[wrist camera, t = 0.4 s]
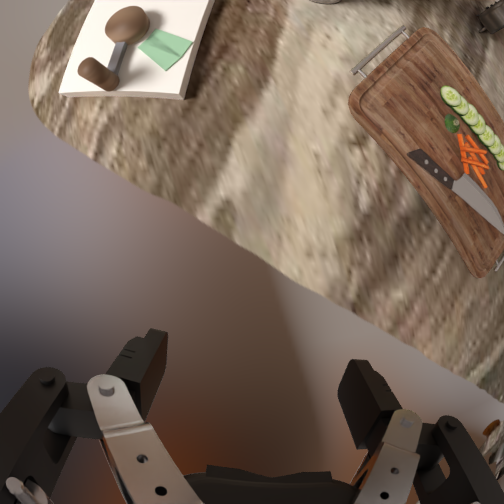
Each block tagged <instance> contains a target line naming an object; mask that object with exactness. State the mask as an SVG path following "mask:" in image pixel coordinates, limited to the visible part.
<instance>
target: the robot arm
mask: <svg viewBox="0 0 504 504" xmlns="http://www.w3.org/2000/svg"><path fill="white" fill-rule="evenodd" d="M311 1H314V2H317V3H324V4H331V3H337V2H339V1H341V0H311ZM167 344H168V332H165V331H161V330H156V329H152V328H151V329H150V330H149V331H148V333H147V334H146V336H145V338H141V337H135V338H133V339H131V340H130V341H128V342H127V344H126V345H125V346H124V348H123V350H122V351H121V352H120V354H119V356H117V358H116V359H115V361H114V362H113V364H112V365H111V367H110V368H109V370H108V371H107V373H106V374H105V375H98V376H95V377H93V378H92V379H91V380H90V381H89V382H88V383H87V384H84V383H74V382H66V378H65V375H64V374H63V373H62V372H61V371H60V370H58V369H55V368H51V367H45V368H40V369H38V370H36V371H35V372H33V374H32V375H31V376H30V377H29V378H28V379H27V381H26V382H25V383H24V384H23V386H22V387H21V388H20V390H18V392H17V393H16V394H15V395H14V397H13V398H12V399H11V401H10V402H9V403H8V405H7V406H6V407H5V408H4V410H3V411H2V412H1V413H0V504H53V502H52V501H51V500H50V497H51V495H52V492H53V490H54V488H55V485H56V483H57V480H58V478H59V476H60V474H61V471H62V469H63V467H64V465H65V462H66V460H67V458H68V456H69V454H70V452H71V450H72V447H73V445H74V443H75V441H76V439H77V437H83V438H92V439H99V441H100V443H101V446H102V448H103V451H104V453H105V456H106V458H107V461H108V463H109V465H110V468H111V470H112V472H113V475H114V477H115V479H116V482H117V484H118V486H119V489H120V491H121V493H122V495H123V497H124V499H125V501H126V503H127V504H405V503H406V500H407V498H408V494H409V492H410V489H411V486H412V483H413V485H414V487H415V490H416V493H417V495H418V498H419V501H420V504H504V492H503V491H502V489H501V487H500V485H499V483H498V481H497V480H496V478H495V476H494V475H493V473H492V471H491V469H490V468H489V466H488V464H487V463H486V461H485V459H484V458H483V456H482V454H481V453H480V451H479V450H478V448H477V446H476V445H475V443H474V442H473V440H472V439H471V437H470V435H469V434H468V432H467V431H466V429H465V428H464V426H463V425H462V423H461V422H460V421H459V420H458V419H456V418H454V417H452V416H442V417H440V418H439V420H438V421H437V423H436V424H428V423H422V420H421V418H420V417H419V416H418V415H417V414H416V413H414V412H412V411H410V410H406V409H402V407H401V405H400V404H399V402H398V400H397V399H396V397H395V395H394V394H393V392H391V389H390V387H389V386H388V384H387V382H386V381H385V379H384V377H383V376H381V375H380V374H379V373H378V372H376V371H374V370H373V368H372V366H371V365H370V363H369V362H368V361H367V360H357V359H352V360H350V361H349V363H348V365H347V368H346V370H345V373H344V375H343V377H342V380H341V382H340V384H339V388H338V399H339V402H340V405H341V407H342V410H343V413H344V415H345V418H346V421H347V424H348V426H349V429H350V432H351V435H352V438H353V440H354V443H355V446H356V449H368V453H367V454H366V455H365V457H364V459H363V461H362V463H361V465H360V466H359V468H358V470H357V472H356V474H355V475H354V477H353V479H352V481H351V482H350V484H347V483H345V482H341V481H338V480H334V479H332V476H331V472H330V471H329V472H301V473H296V474H291V475H286V476H280V477H273V478H271V477H266V476H262V475H258V474H255V473H251V472H248V471H244V470H241V469H235V468H227V467H219V466H212V465H207V469H206V472H205V473H194V474H188V475H184V476H183V475H182V474H181V472H180V471H179V469H178V468H177V466H176V465H175V463H174V462H173V460H172V459H171V457H170V456H169V454H168V452H167V451H166V449H165V447H164V446H163V444H162V443H161V441H160V440H159V438H158V436H157V434H156V432H155V431H154V429H153V427H152V426H151V424H150V423H148V422H147V423H145V420H146V418H147V415H148V413H149V410H150V408H151V405H152V403H153V400H154V398H155V395H156V393H157V390H158V388H159V386H160V383H161V381H162V378H163V376H164V373H165V369H166V363H167ZM443 457H445V459H446V461H447V463H448V465H449V467H450V475H449V477H448V478H447V479H446V478H445V476H444V474H443V472H442V470H441V468H440V466H439V464H438V463H439V462H440V461H441V460H442V458H443Z"/></svg>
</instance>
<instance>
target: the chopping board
mask: <svg viewBox="0 0 504 504" xmlns="http://www.w3.org/2000/svg"><path fill="white" fill-rule="evenodd" d="M405 29H406V27H405V26H404V25H402V26H401V27H399V28H398V29H397V30H396V31H395V32H393V33H392V34H391V35H390V36H389V37H388V38H386V39H385V40H384V41H383V42H382V43H381V44H379V45H378V46H377V47H376V48H375V49H374V50H373V51H371V52H370V53H369V54H368V55H367V56H366V57H365V58H364V59H362V60H361V61H360V62H359V63H358V64H357V65H356V66H355V67H354V68H352V69H351V70H350V73H351V74H352V75H354V74H355V73H356V72H357V71H358V72H359V73H360V74H361V75H362V76H363V77H364V78H365V79H364V80H363V81H362V82H361V83H360V84H359V85H358V86H357V87H356V88H355V89H354V90H353V91H352V92H351V94H350V96H349V102H348V105H349V109H350V112H351V114H352V115H353V117H354V118H355V120H356V121H357V122H358V123H359V124H360V125H361V126H362V127H363V128H364V129H365V130H366V131H367V132H368V133H369V135H370V136H371V137H372V138H373V139H374V140H375V141H376V142H377V143H378V144H379V145H380V147H381V148H382V149H383V150H384V151H385V152H386V153H387V155H388V156H389V157H390V158H391V159H392V160H393V162H394V163H395V164H396V165H397V166H398V168H399V169H400V170H401V171H402V172H403V174H404V175H405V176H406V177H407V179H408V180H409V181H410V182H411V184H412V185H413V186H414V188H415V189H416V190H417V192H418V193H419V194H420V196H421V197H422V198H423V200H424V201H425V202H426V204H427V205H428V206H429V208H430V209H431V211H432V212H433V214H434V215H435V216H436V218H437V219H438V221H439V222H440V224H441V225H442V227H443V228H444V230H445V231H446V233H447V234H448V236H449V237H450V239H451V241H452V242H453V244H454V245H455V247H456V249H457V250H458V252H459V254H460V255H461V257H462V259H463V260H464V262H465V264H466V266H467V267H468V269H469V271H470V273H471V274H472V275H473V276H474V277H476V278H482V277H484V276H485V275H486V274H487V273H488V272H489V271H490V269H491V268H492V266H493V265H494V263H495V262H496V264H497V266H496V267H495V269H494V270H495V272H497V270H498V269H499V267H500V266H501V264H502V263H503V261H504V255H503V256H502V258H501V260H500V261H499V263H498V261H497V259H498V257H499V256H500V254H501V253H502V251H503V249H504V122H503V120H502V119H501V117H500V115H499V114H498V112H497V110H496V109H495V107H494V106H493V104H492V102H491V101H490V99H489V98H488V96H487V95H486V93H485V92H484V90H483V89H482V88H481V86H480V85H479V83H478V82H477V80H476V79H475V78H474V76H473V75H472V74H471V72H470V71H469V70H468V68H467V67H466V66H465V65H464V63H463V62H462V61H461V60H460V58H459V57H458V56H457V55H456V54H455V52H454V51H453V50H452V49H451V48H450V47H449V45H448V44H447V43H446V42H445V41H444V40H443V39H442V38H441V37H440V36H439V35H438V34H437V33H436V32H435V31H433V30H431V29H429V28H424V27H423V28H420V29H418V30H417V31H416V32H415V33H414V34H412V35H411V36H410V37H409V36H408V35H407V34H406V33H405V32H404V31H403V30H405ZM400 33H402V34H403V35H404V36H405V37H407V38H408V39H407V40H406V41H405V42H404V43H402V44H401V45H400V46H399V47H398V48H397V49H396V50H395V51H394V52H393V53H392V54H390V55H389V56H388V57H387V58H386V59H385V60H384V61H383V62H382V63H381V64H380V65H379V66H378V67H377V68H375V69H374V70H373V71H372V72H371V73H370V74H369V75H368V76H367V75H365V74H364V73H363V72H362V71H361V70H360V69H361V68H362V67H363V66H364V65H365V64H366V63H367V62H368V61H369V60H371V59H372V58H373V57H374V56H375V55H376V54H377V53H378V52H379V51H381V50H382V49H383V48H384V47H385V46H386V45H387V44H388V43H390V42H391V41H392V40H393V39H394V38H395V37H396V36H398V35H399V34H400Z"/></svg>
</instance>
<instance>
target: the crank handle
mask: <svg viewBox="0 0 504 504" xmlns="http://www.w3.org/2000/svg"><path fill="white" fill-rule="evenodd" d="M149 27H150V20H149V18H148V16H147V15H146V13H145V12H144V10H143V9H142V8H141V7H138V6H128V7H125V8H122V9H120V10H119V11H117V12H116V13H114V14H113V15H112V16H111V17H110V19H109V20H108V21H107V23H106V26H105V34H106V35H107V37H108V38H110V39H111V40H112V41H113V42H114V43H115V47H114V50H113V52H112V55H111V58H110V61H109V64H108V67H105V66H104V65H103V64H101V63H100V62H99V61H97V60H96V59H95V58H93V57H88V58H86V59H84V60H83V61H82V62H81V63H80V65H79V66H78V70H77V72H78V75H79V76H81V77H83V78H84V79H86V80H88V81H90V82H91V83H93V84H95V85H97V86H98V87H100V88H102V89H103V90H105V91H108V92H110V91H113V90H114V89H116V88H117V86H118V85H119V82H120V79H119V77H118V73H119V70H120V67H121V64H122V61H123V58H124V55H125V52H126V49H127V46H128V45H131V44H133V43H135V42H137V41H139V40H140V39H141V38H142V37H143V36H144V35H145V34H146V33H147V31H148V29H149Z"/></svg>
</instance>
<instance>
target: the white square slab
mask: <svg viewBox="0 0 504 504" xmlns="http://www.w3.org/2000/svg"><path fill="white" fill-rule="evenodd" d="M214 1H215V0H95V2H94V4H93V6H92V8H91V10H90V12H89V14H88V16H87V18H86V20H85V22H84V25H83V27H82V29H81V32H80V34H79V36H78V39H77V41H76V44H75V46H74V49H73V51H72V54H71V57H70V59H69V62H68V65H67V68H66V71H65V74H64V77H63V80H62V84H61V87H60V90H59V94H62V95H64V96H67V97H87V96H129V97H152V98H166V99H178V100H184V98H185V94H186V90H187V86H188V83H189V79H190V75H191V72H192V68H193V65H194V61H195V58H196V55H197V51H198V48H199V45H200V42H201V39H202V36H203V33H204V30H205V27H206V24H207V21H208V18H209V15H210V12H211V9H212V7H213V4H214ZM128 6H138V7H141V8H142V9H143V10H144V12H145V13H146V15H147V16H148V18H149V20H150V27H149V29H148V31H147V33H146V34H145V35H144V36H143V37H142V38H141V39H140V40H139V41H137V42H135V43H133V44H131V45H128V46H127V49H126V52H125V55H124V58H123V61H122V64H121V67H120V70H119V73H118V77H119V79H120V82H119V85H118V86H117V88H116V89H114V90H113V91H110V92H108V91H105V90H103V89H102V88H100V87H98V86H97V85H95V84H93V83H91V82H90V81H88V80H86V79H84V78H83V77H81V76H79V75H78V72H77V70H78V66H79V65H80V63H81V62H82V61H83V60H84V59H86V58H88V57H93V58H95V59H96V60H97V61H99V62H100V63H101V64H103V65H104V66H105V67H108V64H109V61H110V58H111V55H112V52H113V50H114V47H115V43H114V42H113V41H112V40H111V39H110V38H108V37H107V35H106V34H105V26H106V23H107V21H108V20H109V19H110V17H111V16H112V15H113V14H114V13H116V12H117V11H119V10H120V9H122V8H125V7H128Z"/></svg>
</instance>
